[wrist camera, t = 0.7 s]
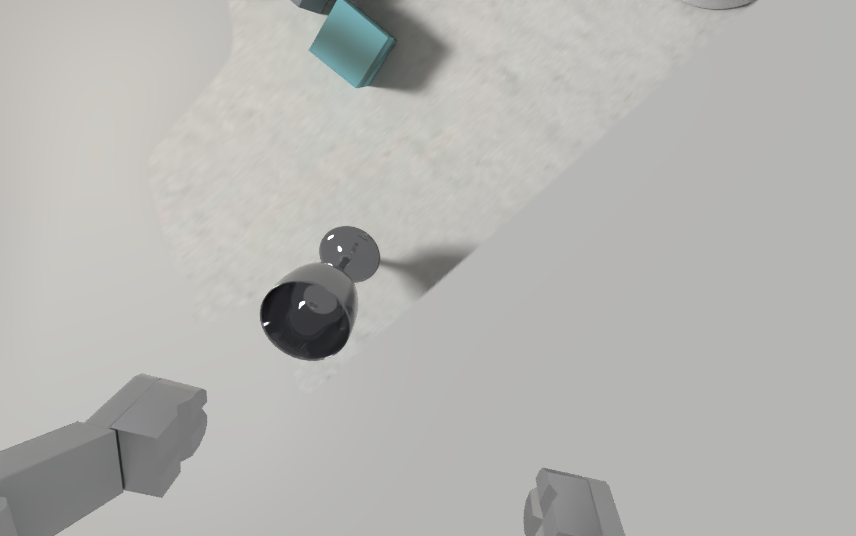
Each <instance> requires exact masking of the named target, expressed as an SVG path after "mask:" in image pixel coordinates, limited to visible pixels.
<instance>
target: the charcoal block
mask: <svg viewBox="0 0 856 536" xmlns="http://www.w3.org/2000/svg"><path fill="white" fill-rule="evenodd" d="M291 1H292V2H293V3H294V4H296V5H297V6H298V7H300V8H303V9H306V10H309V11H312V12H315V13H318V14H321V12H322V11H323V9H324V7H325V6H326V4H327V2H328V0H291Z"/></svg>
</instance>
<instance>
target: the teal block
mask: <svg viewBox="0 0 856 536" xmlns="http://www.w3.org/2000/svg"><path fill="white" fill-rule="evenodd" d="M396 42H397V40H396V39H395V38H393V37H392V36H391V35H390V34H389V33H388V32H386V31H385V30H384V29H383V28H382V27H380V26H379V25H378V24H377V23H376V22H374V21H373V20H372V19H371V18H370V17H369V16H367V15H366V14H365V13H364V12H363V11H361V10H360V9H359V8H358V7H357V6H355V5H354V4H353V3H351V2H349V1H347V0H337V1H336V3H335V5H334V7H333V8H332V10H331V12H330V14H329V15H328V17H327V19H326V21H325V22H324V24H323V26H322V28H321V30H320V31H319V33H318V35H317V37H316V38H315V40H314V42H313V44H312V45H311V47H310V49H309V51H310V52H311V53H313V54H314V55H315V56H316V57H318V58H319V59H320V60H321V61H323V62H324V63H325V64H326V65H328V66H329V67H330V68H331V69H333V70H334V71H335V72H336V73H337V74H339V75H340V76H341V77H342V78H344V79H345V80H346V81H347V82H349V83H350V84H351V85H352V86H354V87H355V88H360V87H365V86H368V85H369V84H370V82H371V81H372V79H373V77H374V76H375V74H376V73H377V71H378V70H379V68H380V67H381V65H382V64H383V62H384V60H385V59H386V57H387V56H388V54H389V53H390V51H391V50H392V48H393V46H394V45H395V43H396Z"/></svg>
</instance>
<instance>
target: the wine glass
mask: <svg viewBox="0 0 856 536" xmlns="http://www.w3.org/2000/svg"><path fill="white" fill-rule="evenodd" d="M319 254H320V259H321V262H318V263H311V264H306V265H304V266H301V267H299V268H297V269H295V270H294V271H292V272H290V273H289V274H287V275H286V276H284V277H283V278H282V279H281V280H280V281H279V282H278V283H277V284H276V285H275V286H274V287H273V288H272V289H271V290H270V291H269V292H268V294H267V295H266V297H265V298H264V300H263V302H262V305H261V309H260V321H261V325H262V328H263V330H264V332H265V334H266V335H267V337H268V338H269V340H270V341H271V342H272V343H273V344H274V345H275V346H276V347H277V348H278V349H280V350H281V351H283V352H284V353H286V354H288V355H290V356H292V357H294V358H298V359H301V360H308V361H318V360H324V359H327V358H330V357H332V356H334V355H335V354H337V353H338V352H339V351H340V350H341V349H342V348H343V347H344V346H345V344H346V342H347V340H348V338H349V336H350V334H351V332H352V330H353V327H354V324H355V321H356V317H357V311H358V295H357V290H356V287H355V284H354V283H356V282H361V281H364V280H366V279H368V278H369V277H371V276H372V275H373V274H374V272H375V271H376V269H377V267H378V264H379V251H378V248H377V245H376V244H375V242H374V240H373V239H372V238H371V237H370V236H369V235H368V234H367V233H365V232H364V231H362V230H360V229H358V228H355V227H350V226H342V227H337V228H335V229H332V230H331V231H329V232H328V233H327V234H326V235H325V236H324V238H323V239H322V241H321V244H320V248H319Z"/></svg>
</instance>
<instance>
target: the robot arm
mask: <svg viewBox="0 0 856 536" xmlns="http://www.w3.org/2000/svg"><path fill="white" fill-rule="evenodd" d="M683 1H684V2H686V3H689V4H691V5H694V6H697V7H701V8H707V9H727V8H733V7H738V6H742V5H745V4H748V3H751V2H753V1H756V0H683ZM206 402H207V395H206V390H204V389H201V388H198V387H194V386H190V385H186V384H182V383H178V382H174V381H171V380H166V379H162V378H158V377H154V376H150V375H145V374H140V375H137V376H135V377H134V378H132V379H131V380H130V381H129V382H128V383H127V384H126V385H125V386H124V387H123V388H122V389H121V390H119V392H117V393H116V394H115V395H114V396H113V397H112V398H111V399H110V400H108V401H107V402H106V403H105V404H104V405H103V406H102V407H101V408H100V409H99V410H98V411H97V412H95V413H94V414H93V415H92V416H91V417H90V418H89V419H88V420H87V421H86V422H84V423H83V422H78V421H77V422H75V423H72V424H70V425H67V426H64V427H62V428H60V429H57V430H54V431H52V432H49V433H46V434H44V435H41V436H39V437H36V438H34V439H31V440H28V441H26V442H23V443H21V444H18V445H15V446H13V447H10V448H8V449H5V450H2V451H0V536H54V535H56V534H58V533H59V532H61V531H62V530H64V529H65V528H67V527H69V526H70V525H72V524H73V523H75V522H76V521H78V520H80V519H81V518H83V517H85V516H86V515H88V514H89V513H91V512H92V511H94V510H95V509H97V508H99V507H100V506H102V505H104V504H105V503H107V502H108V501H110V500H112V499H113V498H115V497H116V496H118V495H120V494H121V493H123V490H127V491H132V492H137V493H142V494H146V495H151V496H156V497H161V498H162V497H163V496H164V494H165V493H166V491H167V490H168V489H169V487H170V486H171V484H172V483H173V482H174V480H175V479H176V478H177V476H178V475H179V473H180V462H181V461H183V460H185V459H187V458H189V457H191V456H192V455H193V454H194V452H195V451H196V450H197V448H198V447H199V445H200V443H201V441H202V438H203V436H204V434H205V430H206V426H207V415H206V413H205V412H204V411H203V409H202V407H203V406H204V405H205V403H206ZM536 482H537V487H536V488H534V489H532V490H531V491H530V492H529V495H528V497H527V500H526V503H525V509H524V531H525V534H526V536H625V534H624V530H623V527H622V524H621V522H620V518H619V515H618V512H617V509H616V506H615V503H614V500H613V497H612V494H611V491H610V487H609V485H608V484H607V483H606V482H604V481H600V480H596V479H591V478H587V477H582V476H578V475H574V474H569V473H565V472H560V471H555V470H550V469H546V468H542V469H541V470H540V471H539V473H538V475H537V477H536Z"/></svg>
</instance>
